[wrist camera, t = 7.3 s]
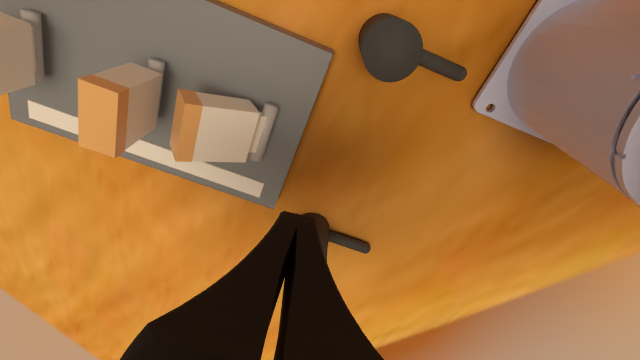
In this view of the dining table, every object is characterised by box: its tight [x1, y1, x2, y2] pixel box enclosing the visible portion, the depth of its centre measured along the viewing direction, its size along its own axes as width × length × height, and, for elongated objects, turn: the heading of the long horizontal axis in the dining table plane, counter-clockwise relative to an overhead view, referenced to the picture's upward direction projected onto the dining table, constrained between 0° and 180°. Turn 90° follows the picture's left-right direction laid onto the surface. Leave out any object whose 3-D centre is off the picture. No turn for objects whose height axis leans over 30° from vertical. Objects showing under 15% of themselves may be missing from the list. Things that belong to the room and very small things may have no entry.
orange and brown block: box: [78, 58, 165, 158], centre depth 16 cm, size 2×4×5 cm, turn 159°
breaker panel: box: [0, 0, 334, 209], centre depth 19 cm, size 17×11×2 cm, turn 69°
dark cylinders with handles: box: [303, 13, 467, 262], centre depth 20 cm, size 7×17×4 cm, turn 159°
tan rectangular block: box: [169, 89, 279, 163], centre depth 18 cm, size 2×4×5 cm
